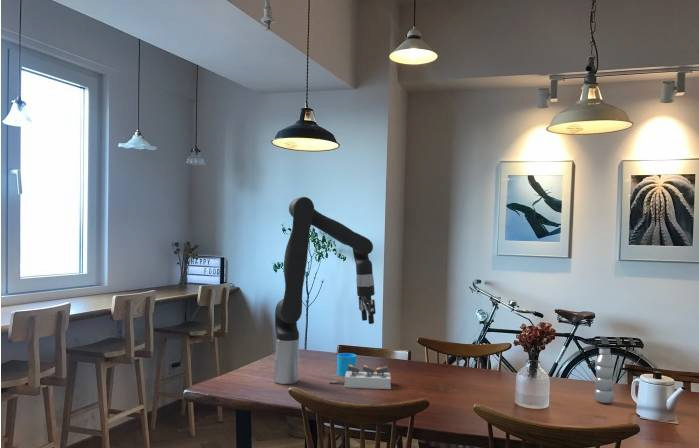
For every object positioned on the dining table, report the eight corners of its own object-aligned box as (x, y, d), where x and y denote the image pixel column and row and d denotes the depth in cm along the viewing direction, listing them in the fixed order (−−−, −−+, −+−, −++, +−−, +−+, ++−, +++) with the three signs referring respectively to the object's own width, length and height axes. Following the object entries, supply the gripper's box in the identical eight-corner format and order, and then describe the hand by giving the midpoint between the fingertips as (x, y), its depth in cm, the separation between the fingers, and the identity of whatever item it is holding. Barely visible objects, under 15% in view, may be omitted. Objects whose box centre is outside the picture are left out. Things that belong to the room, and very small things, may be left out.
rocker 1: (347, 370, 215) (348, 366, 215) (347, 368, 218) (349, 364, 218) (358, 373, 215) (359, 369, 215) (358, 371, 218) (359, 367, 218)
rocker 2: (362, 370, 215) (363, 366, 215) (362, 368, 218) (363, 364, 218) (373, 373, 214) (374, 369, 214) (373, 371, 217) (374, 367, 217)
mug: (353, 377, 226) (353, 357, 226) (334, 375, 228) (335, 356, 228) (359, 370, 238) (360, 352, 238) (341, 369, 240) (342, 350, 240)
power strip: (328, 386, 211) (328, 374, 211) (330, 380, 220) (330, 368, 220) (390, 389, 210) (391, 376, 210) (390, 382, 219) (390, 370, 219)
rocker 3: (377, 374, 214) (376, 369, 214) (377, 372, 217) (376, 368, 217) (388, 371, 214) (387, 367, 214) (388, 369, 217) (387, 365, 217)
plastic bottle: (596, 398, 203) (597, 345, 204) (615, 402, 199) (616, 348, 199) (591, 402, 198) (592, 348, 199) (611, 406, 194) (612, 351, 194)
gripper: (351, 283, 235) (354, 320, 236) (362, 287, 222) (365, 326, 222) (367, 282, 238) (370, 318, 238) (379, 285, 224) (382, 323, 224)
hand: (367, 322), depth 230 cm, fingers open, 8 cm apart
